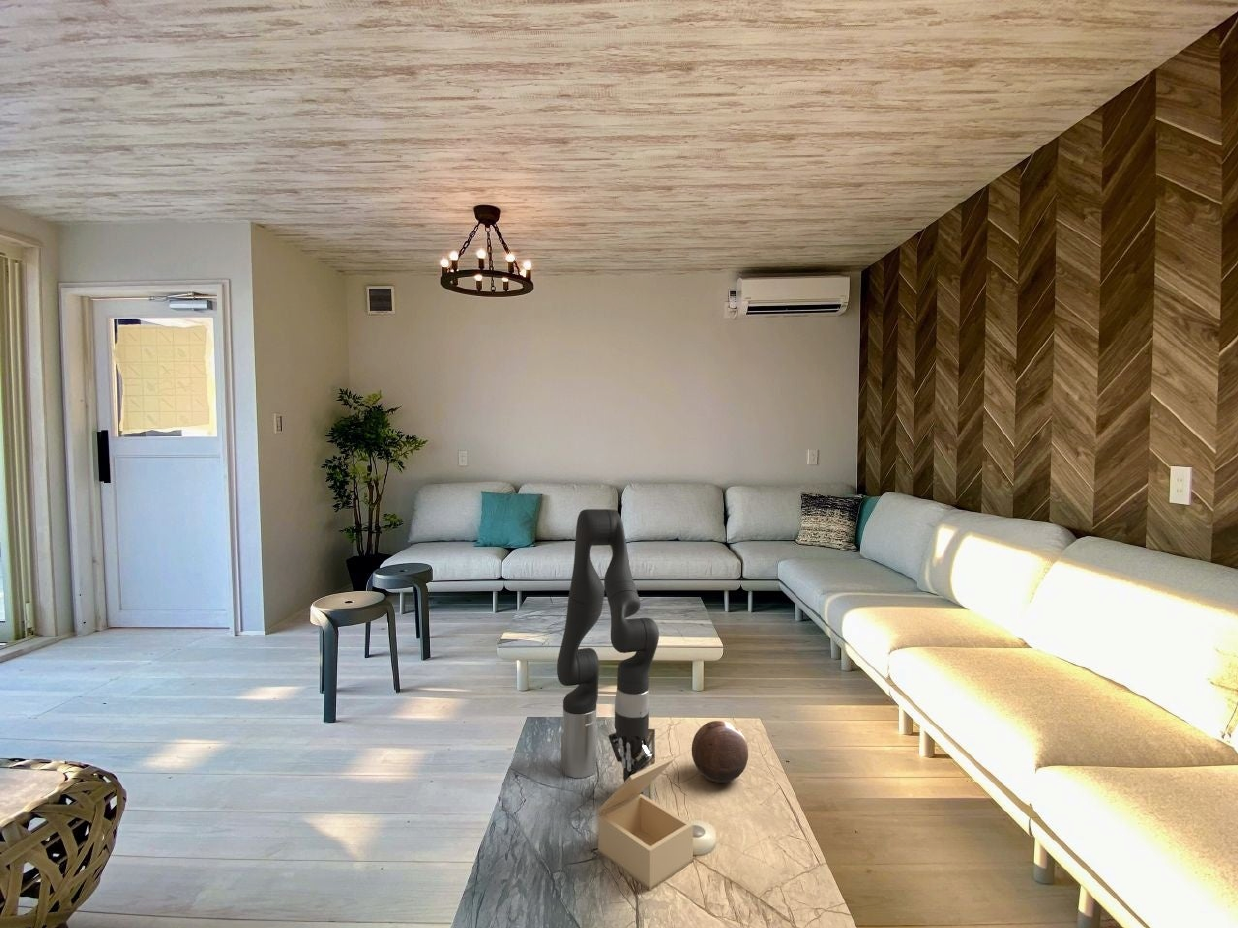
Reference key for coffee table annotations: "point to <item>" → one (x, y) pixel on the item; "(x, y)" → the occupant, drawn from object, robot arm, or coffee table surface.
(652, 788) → the coffee box
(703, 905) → the coffee table surface
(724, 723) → the wooden sphere
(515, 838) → the coffee table surface
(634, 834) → the box
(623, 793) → the lid
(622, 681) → the robot arm
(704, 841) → the cream domed button
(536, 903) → the coffee table surface
